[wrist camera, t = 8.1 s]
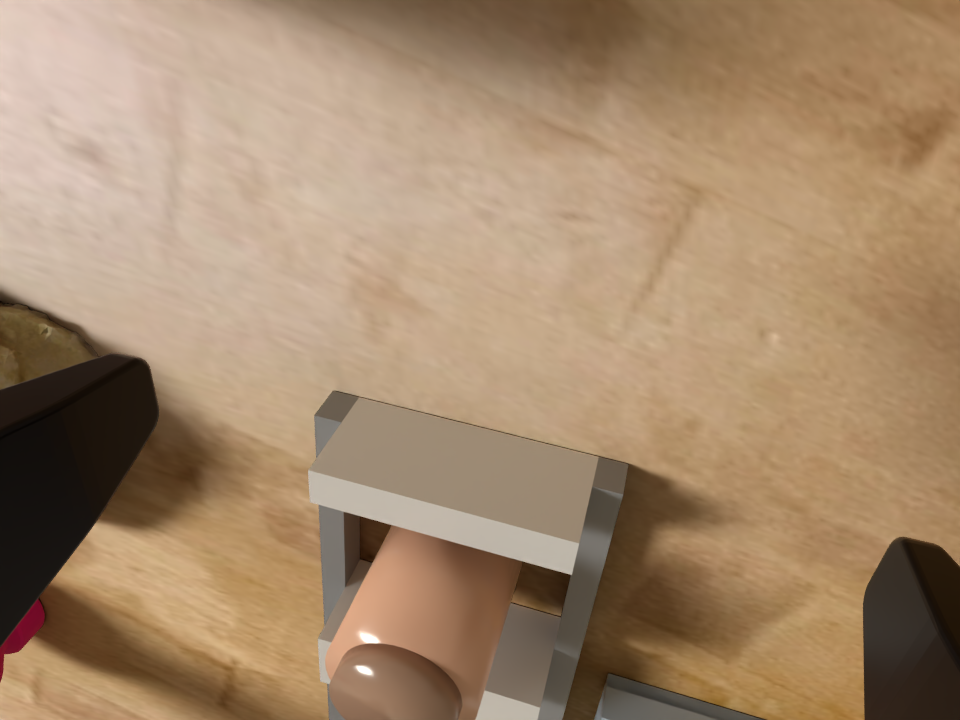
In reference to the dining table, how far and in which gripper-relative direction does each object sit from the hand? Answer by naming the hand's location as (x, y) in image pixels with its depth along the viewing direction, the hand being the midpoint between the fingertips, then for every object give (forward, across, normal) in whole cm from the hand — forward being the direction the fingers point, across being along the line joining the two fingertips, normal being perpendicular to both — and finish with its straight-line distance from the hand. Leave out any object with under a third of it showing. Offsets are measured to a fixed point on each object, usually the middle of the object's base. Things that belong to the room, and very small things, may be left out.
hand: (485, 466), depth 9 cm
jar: (+13, +3, +16) cm, 21 cm away
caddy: (+13, +3, +26) cm, 29 cm away
